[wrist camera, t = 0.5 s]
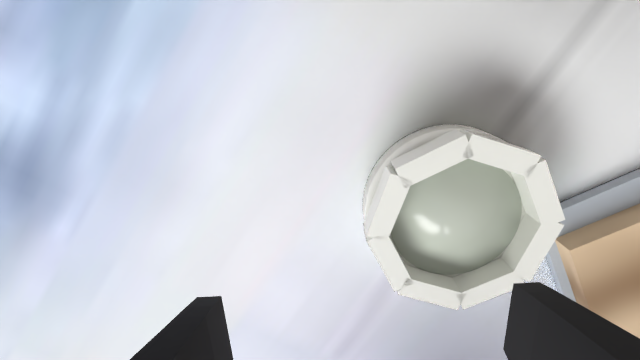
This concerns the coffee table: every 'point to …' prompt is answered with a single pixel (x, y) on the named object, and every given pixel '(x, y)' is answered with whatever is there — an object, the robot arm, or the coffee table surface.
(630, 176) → the mat
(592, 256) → the lid
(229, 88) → the coffee table surface
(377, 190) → the bowl
